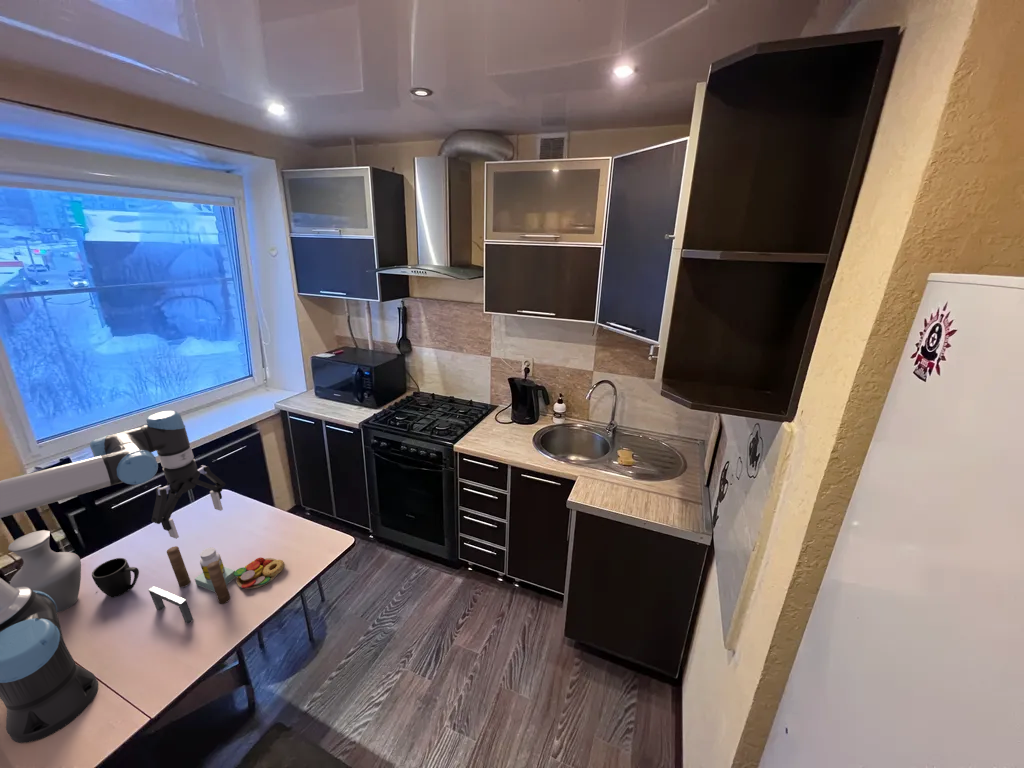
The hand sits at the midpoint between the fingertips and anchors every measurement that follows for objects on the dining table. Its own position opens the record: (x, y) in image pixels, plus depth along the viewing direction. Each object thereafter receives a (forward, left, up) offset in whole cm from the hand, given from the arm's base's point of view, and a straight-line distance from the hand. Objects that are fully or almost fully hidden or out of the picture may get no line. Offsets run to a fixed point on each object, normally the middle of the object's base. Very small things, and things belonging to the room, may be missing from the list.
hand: (197, 522), depth 129 cm
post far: (-4, +9, -24) cm, 26 cm away
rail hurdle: (-13, 0, -24) cm, 27 cm away
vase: (-23, +36, -24) cm, 49 cm away
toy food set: (+7, -11, -24) cm, 27 cm away
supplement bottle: (0, 0, -22) cm, 22 cm away
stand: (0, 0, -24) cm, 24 cm away
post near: (-4, -9, -24) cm, 26 cm away
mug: (-13, +24, -24) cm, 36 cm away
